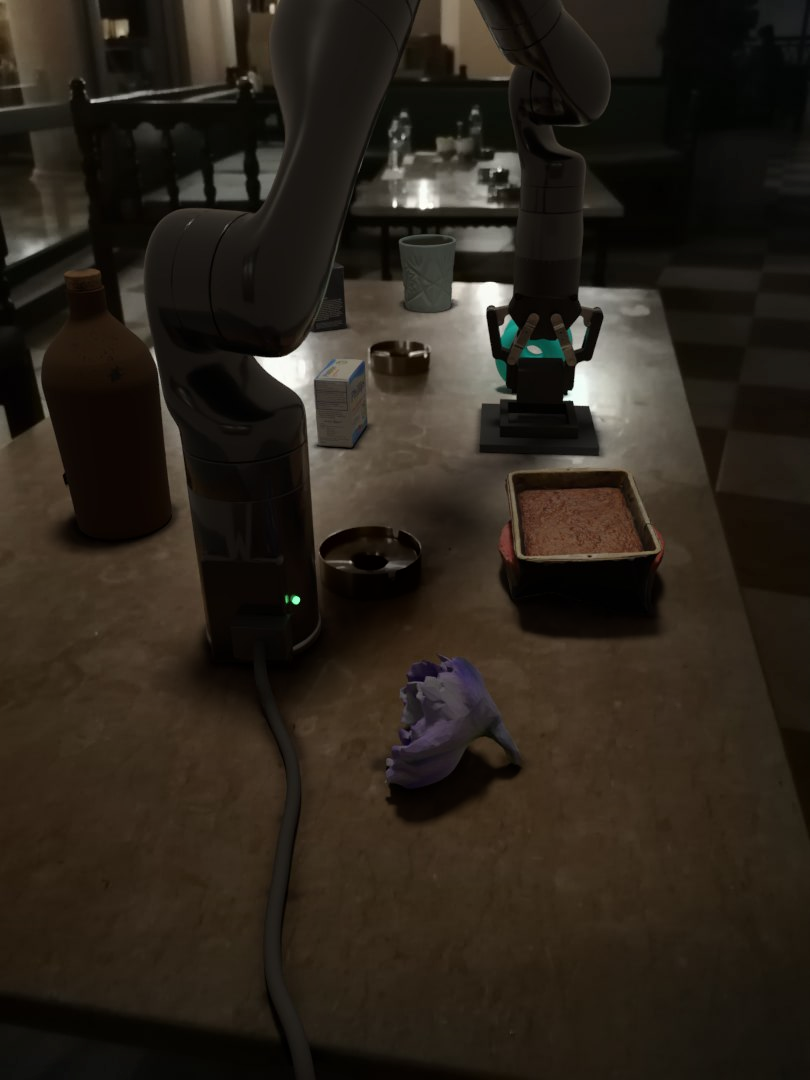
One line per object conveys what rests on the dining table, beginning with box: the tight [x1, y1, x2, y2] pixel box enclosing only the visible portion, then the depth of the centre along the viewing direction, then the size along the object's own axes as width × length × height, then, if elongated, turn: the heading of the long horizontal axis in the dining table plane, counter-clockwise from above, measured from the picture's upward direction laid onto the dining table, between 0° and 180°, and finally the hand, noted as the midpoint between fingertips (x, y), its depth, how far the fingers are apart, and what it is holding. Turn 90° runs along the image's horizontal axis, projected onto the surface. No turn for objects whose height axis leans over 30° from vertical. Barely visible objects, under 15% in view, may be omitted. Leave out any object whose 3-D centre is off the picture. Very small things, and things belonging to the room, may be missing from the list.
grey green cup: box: [398, 233, 457, 313], centre depth 164 cm, size 10×10×12 cm
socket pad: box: [478, 398, 600, 456], centre depth 113 cm, size 14×14×2 cm
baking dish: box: [497, 467, 665, 616], centre depth 81 cm, size 14×18×10 cm
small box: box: [311, 261, 348, 333], centre depth 156 cm, size 11×6×10 cm, turn 25°
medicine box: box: [313, 358, 368, 448], centre depth 111 cm, size 8×4×9 cm, turn 168°
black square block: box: [515, 357, 565, 404], centre depth 110 cm, size 6×6×4 cm
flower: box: [384, 652, 522, 790], centre depth 60 cm, size 9×9×10 cm
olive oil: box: [40, 268, 173, 541], centre depth 87 cm, size 11×11×25 cm
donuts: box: [494, 318, 574, 383], centre depth 127 cm, size 10×10×10 cm
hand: (539, 392), depth 111 cm, fingers closed on black square block, 5 cm apart
